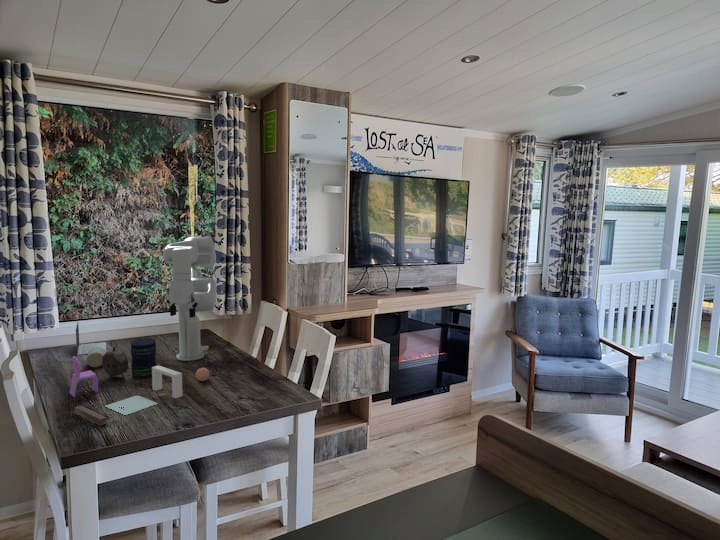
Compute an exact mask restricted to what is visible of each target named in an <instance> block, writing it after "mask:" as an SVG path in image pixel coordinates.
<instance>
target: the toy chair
mask: <svg viewBox="0 0 720 540" xmlns="http://www.w3.org/2000/svg"><path fill="white" fill-rule="evenodd" d="M72 368H73V372H74V373H73V374H72V377H71V380H70V382H71V384H70V389H69V392H68V394H69V393H70V394H71V395H72V396H73V397H75V398H76V389H77V385H78V382H80V381H82V380H86V379H92V385H91V388H92V389H91V388H90V389H91V390H92V391H94V392H95V391H96V392H98V391H99V388H98V387H99V378H98V377H97V374H96V373H95V372H93V371H92V370H90V369H89V370H86V371H83V367H82V363H81V361H80V360H79V359H78V357H76V356H72ZM81 371H82V372H81ZM96 392H95V393H96ZM70 394H69V395H70ZM71 395H70V396H71ZM72 396H71V397H72ZM73 397H72V398H73Z"/></svg>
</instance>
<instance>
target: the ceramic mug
mask: <svg viewBox="0 0 720 540" xmlns="http://www.w3.org/2000/svg"><path fill="white" fill-rule="evenodd" d="M106 352H107V350H106V351H105V349H103V348H101V347H94V348H92V349H90V350H89V352H88V354H87V356H86V363H87V365H88V366H89V367H91V368H95V369H96V368H100V367H101V366H103V365H102V358H103V355H104V354H105V353H106Z"/></svg>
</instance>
